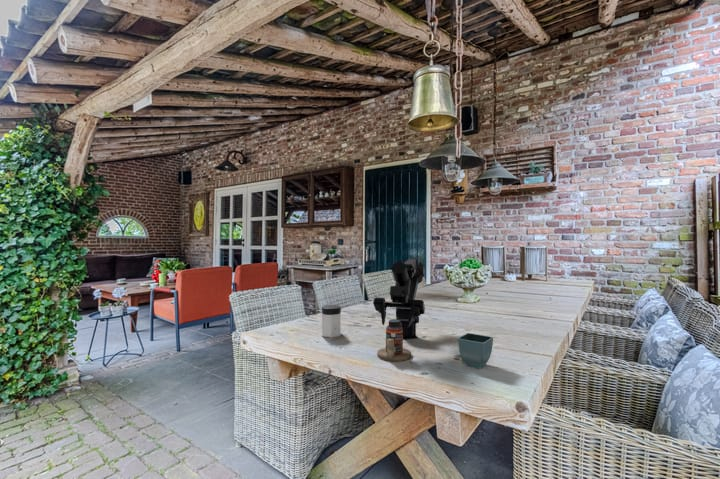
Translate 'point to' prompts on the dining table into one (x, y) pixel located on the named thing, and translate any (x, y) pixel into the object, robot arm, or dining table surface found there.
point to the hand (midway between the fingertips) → (395, 325)
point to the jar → (331, 321)
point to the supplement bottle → (395, 335)
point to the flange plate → (397, 357)
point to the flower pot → (475, 349)
